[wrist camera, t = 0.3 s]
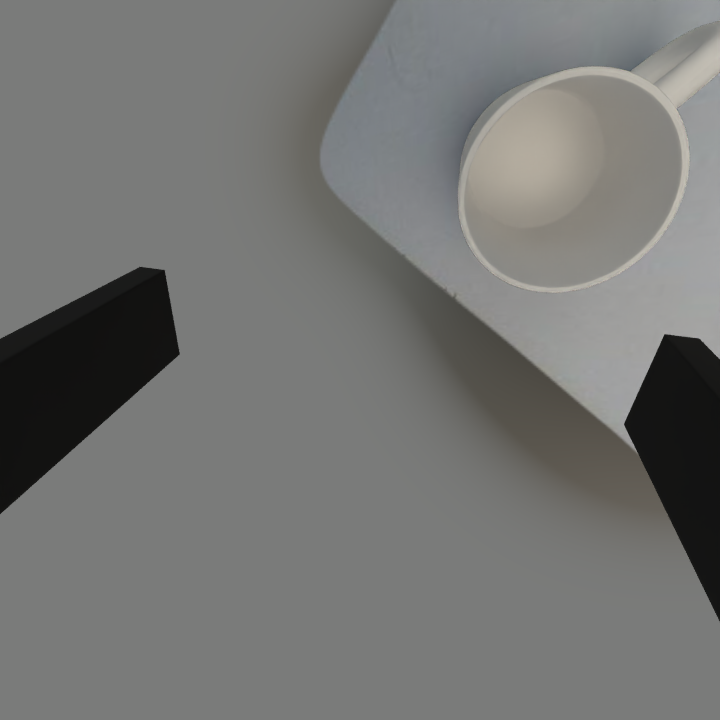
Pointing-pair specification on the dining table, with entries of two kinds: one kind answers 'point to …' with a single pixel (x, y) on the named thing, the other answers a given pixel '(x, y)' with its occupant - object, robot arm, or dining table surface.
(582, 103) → the cup
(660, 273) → the dining table surface
